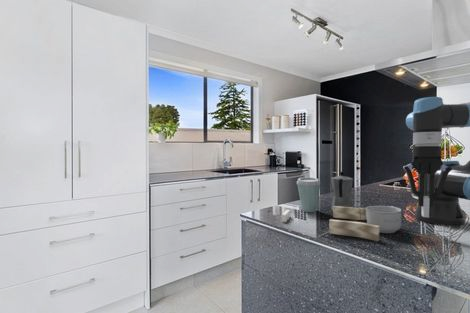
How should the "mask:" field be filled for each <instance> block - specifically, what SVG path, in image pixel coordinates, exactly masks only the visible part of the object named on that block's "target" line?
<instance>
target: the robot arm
mask: <svg viewBox="0 0 470 313" xmlns="http://www.w3.org/2000/svg"><path fill="white" fill-rule="evenodd" d="M412 109H413V111H412V112H409V114H407V116H406V118H405V124H406V127H407V128H408V129H410V130H411V131H412V132H413V133H412V144H413V145H414V146H413V147H412V159H411V161H410V163H409V164H407V165H403V166H402V168H403V170H404V172H405V173H406V176H407V180H408V184H409V187H410V190H411V194H413V195H414V196H417V206H416V207H415V208H416V209H415V210H414V218H415V219H417V220H419V221H421V222H425V223H428V224H433V225H440V226H449V227H450V226H452V227H453V226H455V227H456V226H463V225H465V215H464V212H463V211H462V207H461V205H460V201H459V200H460V199H462V200H468V201H470V160H468V162H466V163H465V164H463V165H462V164H460V161H458V160H442V146H440V145H441V144H442V142H443V141H442V138H443V137H442V135H443V134H442V132H443V129H448V128H449V129H450V128H451V129H452V128H453V129H454V128H460V129H461V128H463V129H464V128H470V102H464V103H463V102H462V103H457V104H444V102H443V98H442V97H441V96H429V97H428V96H427V97H422V98H418V99H416V100H414V104H413V108H412ZM413 169H415V171H416V172H417V176H418V178H417V179H418V180H417V186H416V182H415V179H414V175H413V172H412V171H413Z"/></svg>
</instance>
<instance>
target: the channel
mask: <svg viewBox="0 0 470 313" xmlns="http://www.w3.org/2000/svg"><path fill="white" fill-rule="evenodd" d="M332 218H337V219H331V218H330V219H329V222H328V223H329V224H328V228H329V229H328V230H329V234H330V235H339V236H347V237H354V238H355V237H356V238H361V239H366V240H371V241H375V242H379V240H380V232H379V226H377V225H372V224H368V223H367V222H362V221H367V216H366V207H354V206H352V207H341V206H333V211H332ZM340 219H342V220H340ZM343 219H345V220H343ZM346 219H347V220H346ZM351 220H354V221H351ZM355 220H356V221H355ZM358 220H359V221H358Z"/></svg>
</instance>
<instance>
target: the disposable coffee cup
mask: <svg viewBox="0 0 470 313" xmlns="http://www.w3.org/2000/svg"><path fill="white" fill-rule="evenodd" d="M296 185H297V190H298V194H299V201H300V207H301V209H302V211H303V212H304V213H316V212H317V210H318V205H319V195H320V188H321V181H320V179H318V178H316V177H306V176H304V177H298V178H297V181H296Z"/></svg>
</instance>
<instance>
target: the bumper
mask: <svg viewBox="0 0 470 313" xmlns="http://www.w3.org/2000/svg"><path fill="white" fill-rule="evenodd" d="M290 218H291V209H286V210H285V211H284V212H282V213H281V222H282V223H287V222H288V220H289V219H290Z"/></svg>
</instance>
